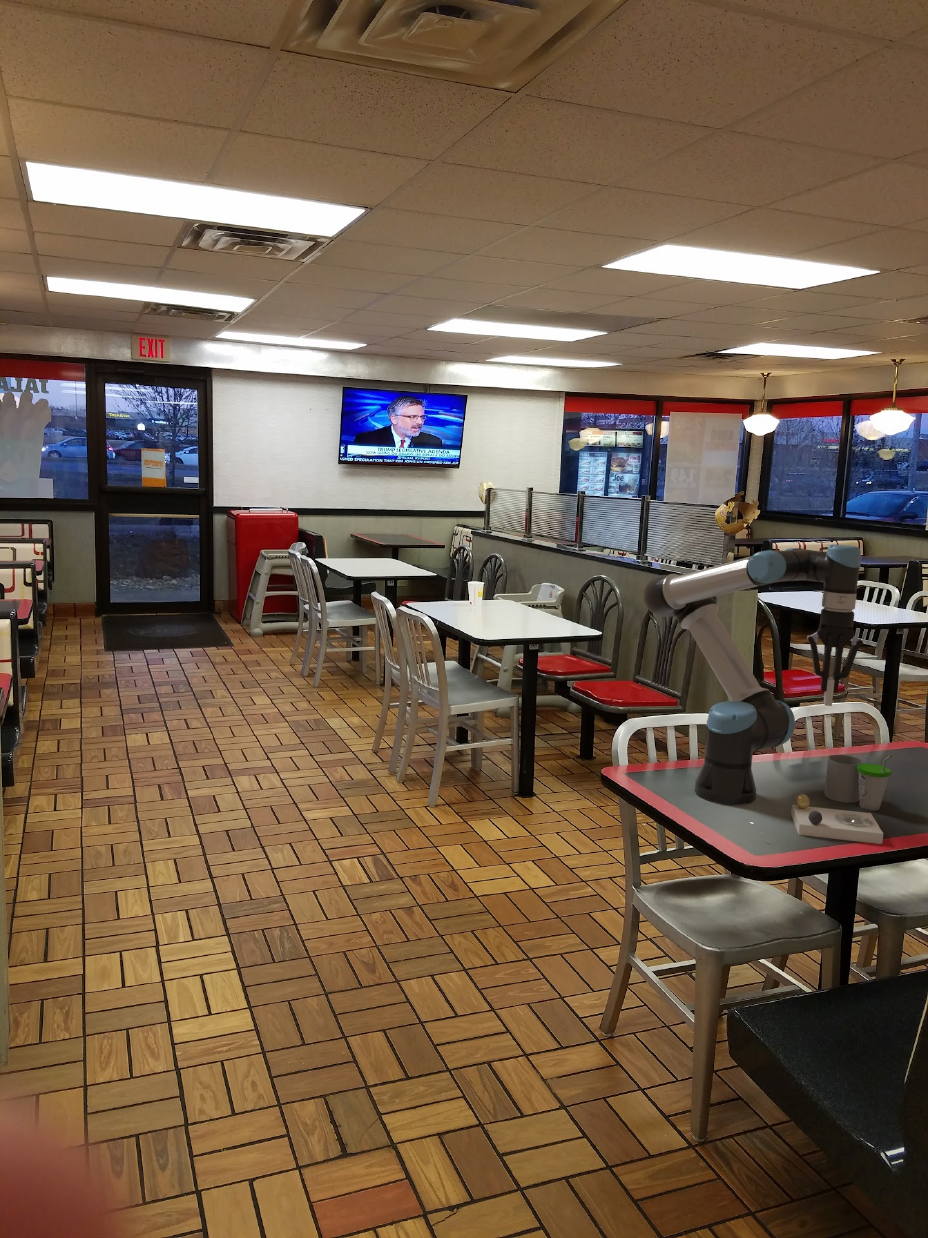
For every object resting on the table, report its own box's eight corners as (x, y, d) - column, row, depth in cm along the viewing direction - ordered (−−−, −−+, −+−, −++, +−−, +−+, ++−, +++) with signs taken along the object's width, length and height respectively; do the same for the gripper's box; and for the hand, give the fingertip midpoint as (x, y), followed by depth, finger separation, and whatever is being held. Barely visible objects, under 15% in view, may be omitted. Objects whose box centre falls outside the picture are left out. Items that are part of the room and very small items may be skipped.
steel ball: (859, 835, 215) (848, 826, 215) (855, 834, 218) (844, 825, 219) (868, 824, 215) (856, 815, 216) (863, 824, 218) (852, 815, 219)
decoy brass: (795, 809, 223) (796, 796, 222) (793, 804, 226) (794, 791, 225) (810, 811, 222) (811, 797, 221) (808, 806, 225) (809, 793, 225)
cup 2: (847, 801, 237) (854, 745, 235) (878, 803, 237) (885, 746, 235) (859, 813, 229) (866, 754, 227) (891, 814, 229) (899, 756, 227)
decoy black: (808, 825, 213) (810, 813, 213) (806, 820, 216) (808, 808, 215) (822, 827, 212) (824, 814, 212) (820, 822, 215) (821, 809, 215)
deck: (798, 834, 214) (799, 824, 213) (791, 814, 226) (792, 804, 226) (882, 844, 210) (883, 833, 210) (869, 823, 223) (870, 813, 222)
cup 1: (859, 795, 243) (864, 758, 241) (858, 804, 235) (863, 767, 234) (825, 789, 246) (829, 752, 244) (823, 798, 239) (827, 761, 237)
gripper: (811, 609, 222) (801, 705, 226) (870, 613, 219) (858, 710, 223) (807, 605, 229) (797, 698, 233) (863, 609, 226) (852, 703, 230)
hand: (827, 704), depth 228 cm, fingers closed
